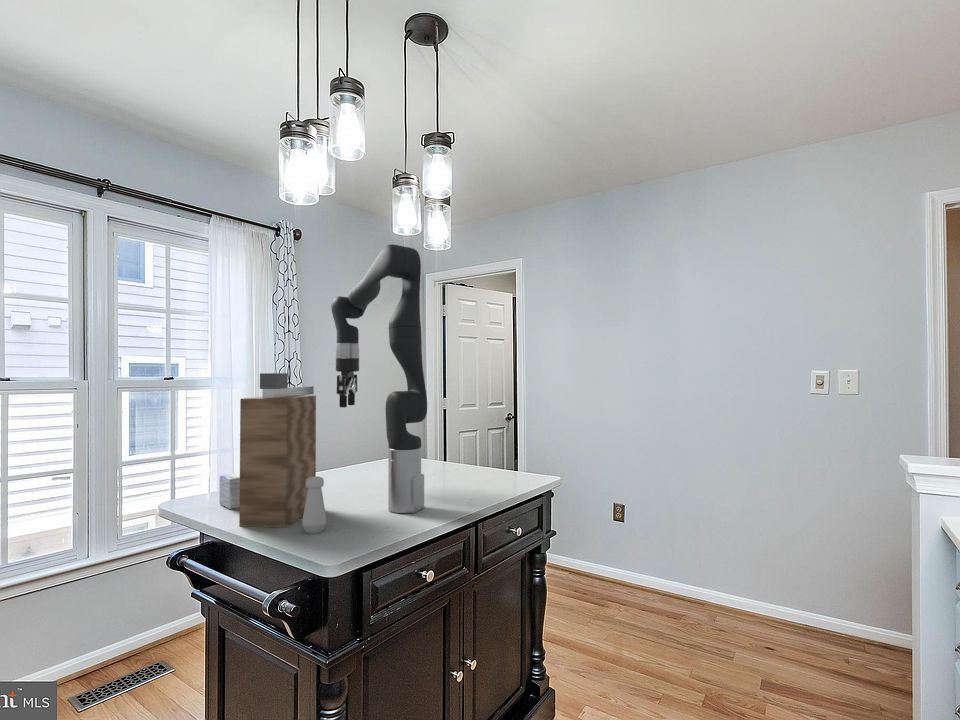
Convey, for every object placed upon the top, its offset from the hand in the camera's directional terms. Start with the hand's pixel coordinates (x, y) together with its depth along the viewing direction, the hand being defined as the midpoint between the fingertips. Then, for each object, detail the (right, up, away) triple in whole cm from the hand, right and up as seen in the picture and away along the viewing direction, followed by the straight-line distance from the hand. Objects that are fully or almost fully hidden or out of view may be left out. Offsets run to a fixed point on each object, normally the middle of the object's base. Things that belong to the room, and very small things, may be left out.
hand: (347, 406), depth 169 cm
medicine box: (-28, -27, -21) cm, 44 cm away
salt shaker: (+4, -27, -45) cm, 52 cm away
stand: (-10, -27, -32) cm, 43 cm away
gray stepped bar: (-9, +5, -26) cm, 28 cm away
